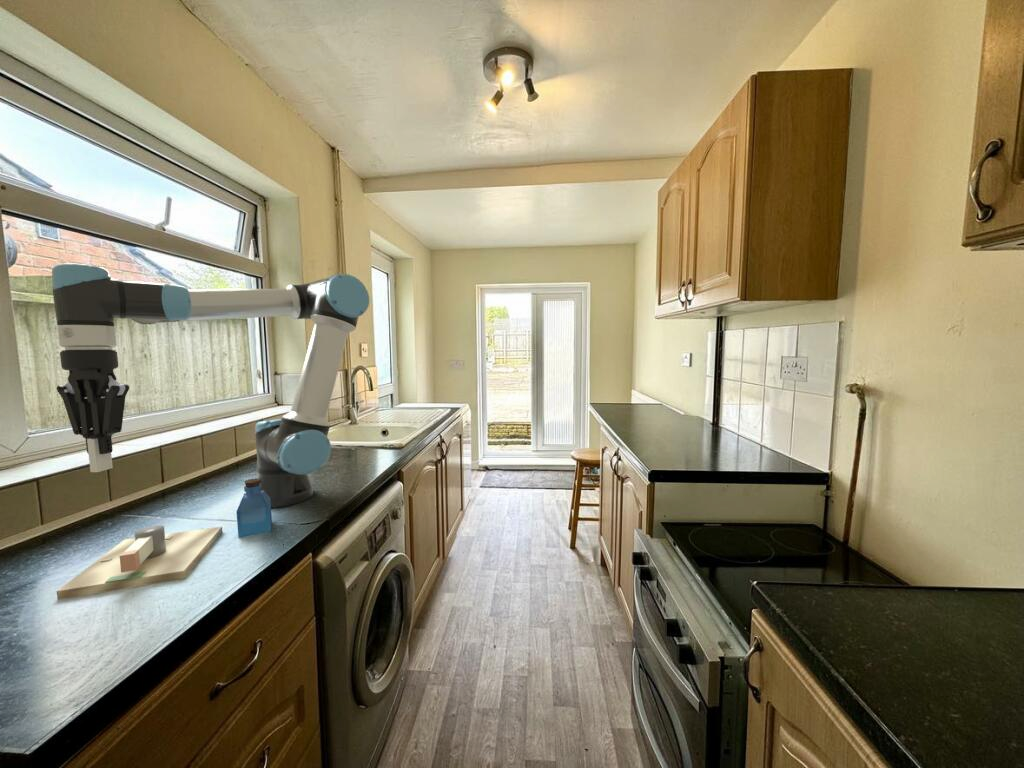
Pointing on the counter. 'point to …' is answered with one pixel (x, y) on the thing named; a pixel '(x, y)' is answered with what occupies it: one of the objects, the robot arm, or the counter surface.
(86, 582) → the board
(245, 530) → the perfume bottle
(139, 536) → the hammer
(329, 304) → the robot arm
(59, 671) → the counter surface
